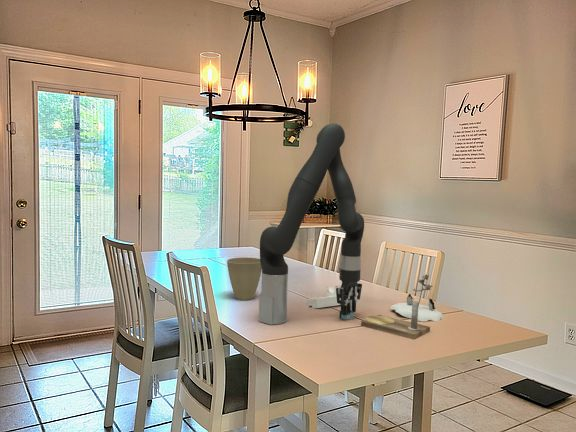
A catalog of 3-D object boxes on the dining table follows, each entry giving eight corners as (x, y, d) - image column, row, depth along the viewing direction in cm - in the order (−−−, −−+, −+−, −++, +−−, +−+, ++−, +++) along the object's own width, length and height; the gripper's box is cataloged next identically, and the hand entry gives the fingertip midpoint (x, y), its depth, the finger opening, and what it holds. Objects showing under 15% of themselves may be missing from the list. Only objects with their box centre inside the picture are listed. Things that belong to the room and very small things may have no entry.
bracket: (333, 304, 207) (331, 286, 208) (344, 304, 201) (341, 285, 202) (307, 308, 200) (305, 289, 201) (317, 308, 194) (315, 288, 195)
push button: (352, 315, 187) (353, 289, 186) (359, 319, 182) (360, 292, 181) (336, 317, 185) (337, 290, 184) (343, 321, 180) (344, 293, 179)
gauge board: (413, 339, 162) (415, 307, 161) (358, 325, 176) (359, 295, 175) (429, 331, 171) (431, 301, 170) (376, 318, 185) (377, 290, 184)
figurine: (380, 310, 194) (385, 269, 191) (408, 303, 206) (414, 265, 203) (424, 327, 179) (430, 283, 176) (452, 319, 191) (458, 278, 188)
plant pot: (243, 292, 219) (244, 255, 217) (269, 298, 209) (270, 260, 208) (218, 297, 207) (219, 259, 206) (244, 304, 198) (245, 264, 196)
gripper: (347, 271, 174) (345, 319, 175) (369, 266, 185) (367, 311, 186) (330, 268, 179) (328, 315, 180) (352, 263, 190) (350, 307, 191)
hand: (348, 313), depth 183 cm, fingers closed on push button, 5 cm apart
